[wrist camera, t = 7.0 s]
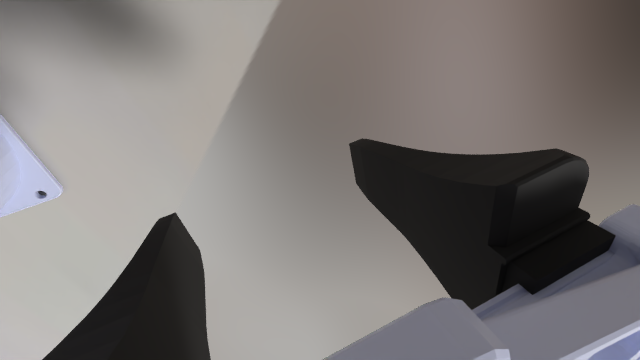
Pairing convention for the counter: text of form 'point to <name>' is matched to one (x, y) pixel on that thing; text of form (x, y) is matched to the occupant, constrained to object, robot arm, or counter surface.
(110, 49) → the counter surface
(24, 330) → the counter surface
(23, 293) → the counter surface
